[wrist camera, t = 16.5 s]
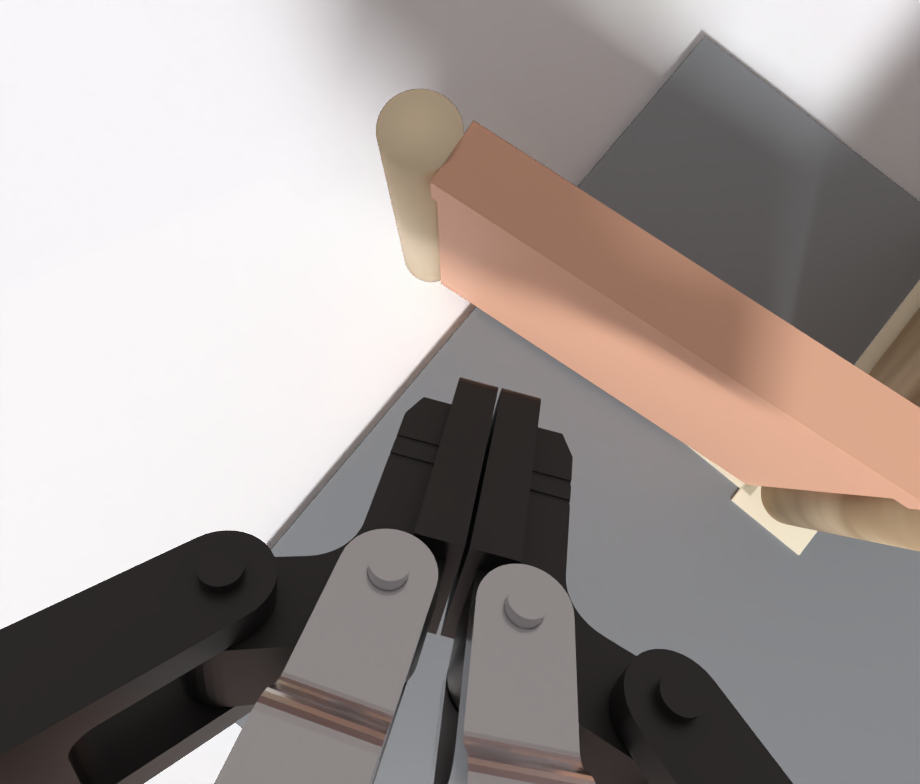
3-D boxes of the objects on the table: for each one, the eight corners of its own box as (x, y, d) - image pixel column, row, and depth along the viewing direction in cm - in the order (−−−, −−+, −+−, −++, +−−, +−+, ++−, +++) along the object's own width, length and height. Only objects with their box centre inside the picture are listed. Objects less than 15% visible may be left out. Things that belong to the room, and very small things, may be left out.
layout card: (1179, 413, 22) (1196, 412, 22) (686, 1110, 20) (692, 1127, 20) (700, 42, 23) (706, 34, 23) (177, 662, 21) (170, 667, 21)
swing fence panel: (742, 492, 21) (934, 516, 13) (393, 262, 22) (359, 141, 13) (770, 446, 21) (978, 439, 13) (424, 219, 22) (407, 72, 13)
